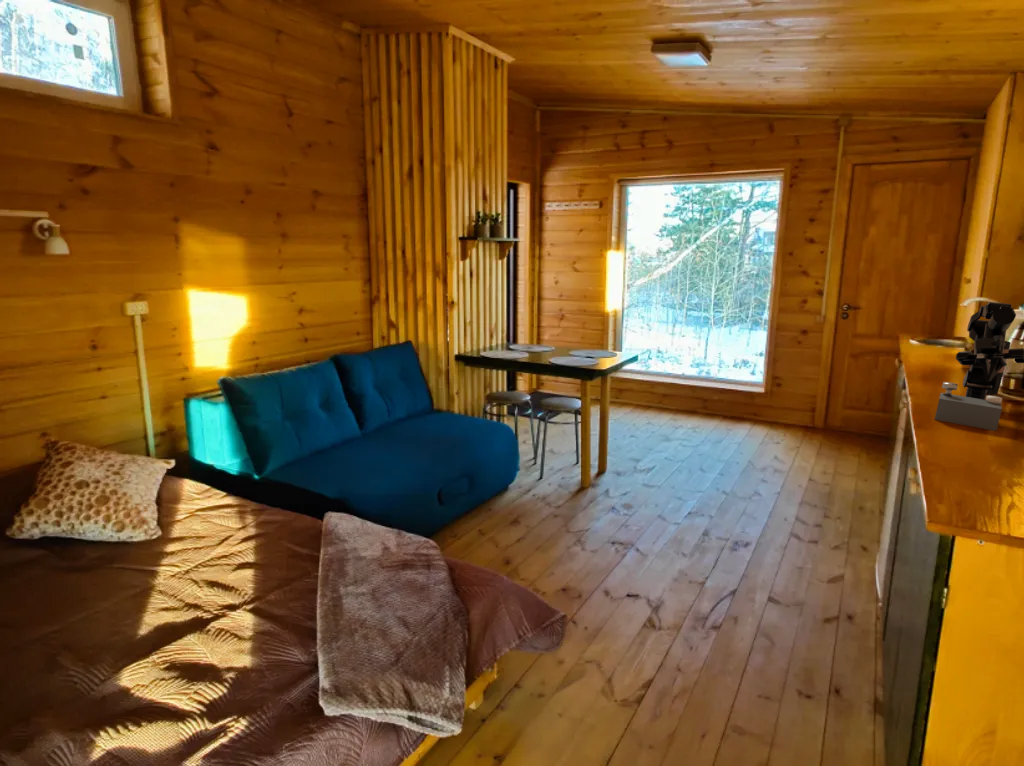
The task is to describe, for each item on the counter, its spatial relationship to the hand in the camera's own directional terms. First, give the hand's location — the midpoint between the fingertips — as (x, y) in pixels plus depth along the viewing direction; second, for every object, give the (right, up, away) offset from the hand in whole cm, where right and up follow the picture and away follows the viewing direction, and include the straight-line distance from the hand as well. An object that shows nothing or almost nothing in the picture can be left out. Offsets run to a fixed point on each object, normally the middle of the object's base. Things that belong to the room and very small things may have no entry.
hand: (988, 381), depth 209 cm
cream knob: (-4, -9, -7) cm, 12 cm away
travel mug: (+27, -4, +38) cm, 47 cm away
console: (-11, -13, -5) cm, 17 cm away
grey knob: (-14, -5, -1) cm, 15 cm away
